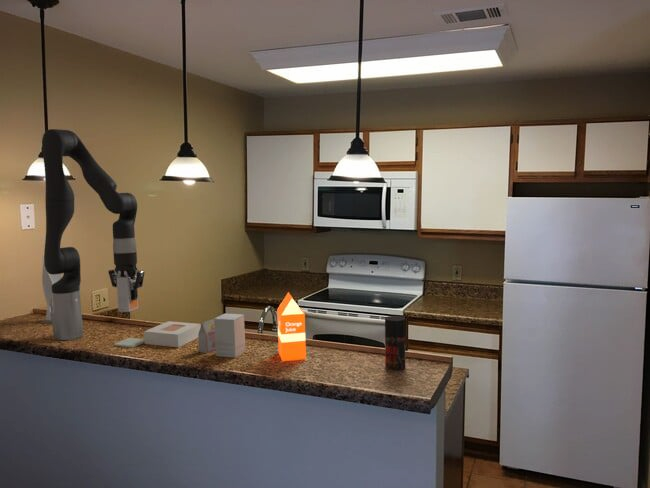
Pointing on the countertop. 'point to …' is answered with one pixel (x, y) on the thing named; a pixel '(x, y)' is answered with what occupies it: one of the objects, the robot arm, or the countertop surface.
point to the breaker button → (173, 328)
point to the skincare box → (125, 295)
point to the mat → (130, 342)
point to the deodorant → (395, 343)
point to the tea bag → (207, 337)
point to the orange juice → (291, 330)
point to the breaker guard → (172, 334)
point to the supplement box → (229, 335)
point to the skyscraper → (49, 290)
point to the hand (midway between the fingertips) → (128, 299)
